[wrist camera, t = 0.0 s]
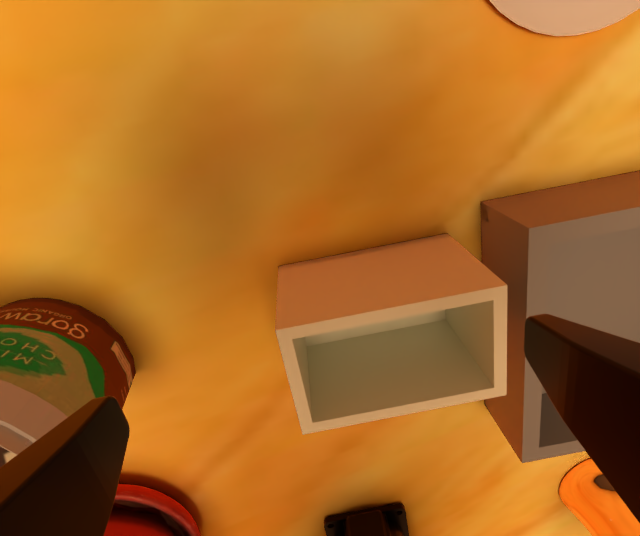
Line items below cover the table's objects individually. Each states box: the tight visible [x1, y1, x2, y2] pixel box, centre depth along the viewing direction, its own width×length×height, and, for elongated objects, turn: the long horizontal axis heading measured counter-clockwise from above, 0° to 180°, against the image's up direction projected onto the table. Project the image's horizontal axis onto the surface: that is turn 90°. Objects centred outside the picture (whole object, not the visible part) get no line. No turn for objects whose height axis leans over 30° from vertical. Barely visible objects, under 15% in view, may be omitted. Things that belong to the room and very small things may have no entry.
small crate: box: [275, 233, 507, 435], centre depth 22 cm, size 6×10×7 cm, turn 100°
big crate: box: [481, 171, 640, 463], centre depth 24 cm, size 15×16×5 cm
